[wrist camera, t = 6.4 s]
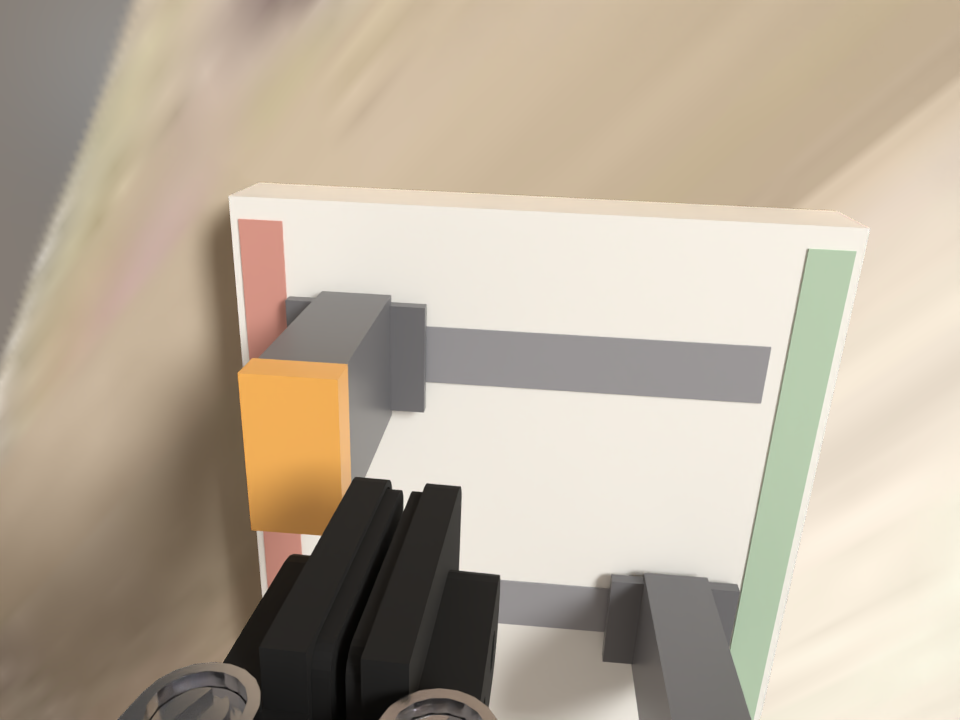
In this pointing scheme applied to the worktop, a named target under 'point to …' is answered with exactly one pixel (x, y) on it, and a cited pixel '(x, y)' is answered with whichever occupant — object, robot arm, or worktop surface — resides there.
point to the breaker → (676, 645)
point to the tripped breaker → (326, 402)
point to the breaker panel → (585, 398)
